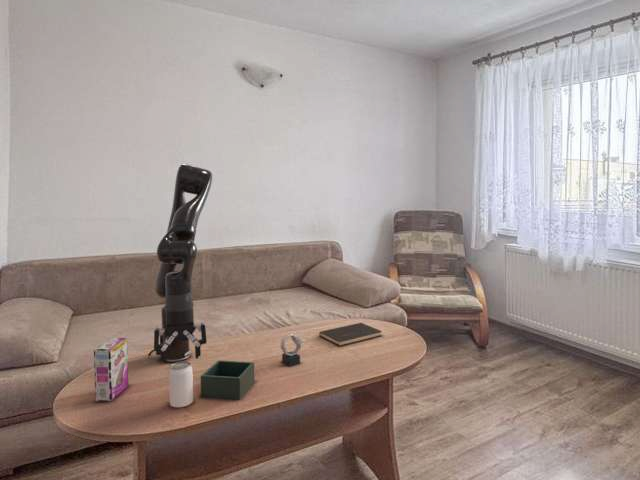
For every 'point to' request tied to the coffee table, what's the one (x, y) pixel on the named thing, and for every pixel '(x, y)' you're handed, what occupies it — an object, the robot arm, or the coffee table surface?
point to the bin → (227, 379)
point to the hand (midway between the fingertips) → (181, 359)
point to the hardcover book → (350, 334)
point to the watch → (291, 357)
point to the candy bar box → (111, 369)
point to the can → (181, 384)
